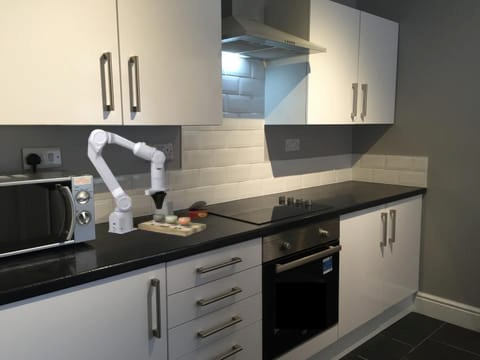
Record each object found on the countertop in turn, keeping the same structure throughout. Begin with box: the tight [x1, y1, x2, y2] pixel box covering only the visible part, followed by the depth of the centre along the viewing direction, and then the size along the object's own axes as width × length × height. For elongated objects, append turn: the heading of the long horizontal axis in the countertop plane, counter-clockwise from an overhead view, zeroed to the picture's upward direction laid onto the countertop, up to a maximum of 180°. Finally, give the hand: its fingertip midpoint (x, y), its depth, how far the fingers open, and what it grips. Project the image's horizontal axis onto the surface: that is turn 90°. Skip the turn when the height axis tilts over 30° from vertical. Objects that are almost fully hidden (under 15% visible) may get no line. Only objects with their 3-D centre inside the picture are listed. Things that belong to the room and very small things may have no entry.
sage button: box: [166, 214, 179, 223], centre depth 182 cm, size 5×5×2 cm
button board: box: [137, 219, 207, 237], centre depth 182 cm, size 14×26×2 cm, turn 59°
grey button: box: [152, 214, 165, 221], centre depth 186 cm, size 5×5×2 cm
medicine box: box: [154, 198, 174, 219], centre depth 205 cm, size 8×4×9 cm, turn 59°
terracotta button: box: [178, 216, 192, 224], centre depth 178 cm, size 5×5×2 cm
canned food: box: [187, 200, 209, 219], centre depth 208 cm, size 11×10×10 cm
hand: (159, 209), depth 185 cm, fingers closed
